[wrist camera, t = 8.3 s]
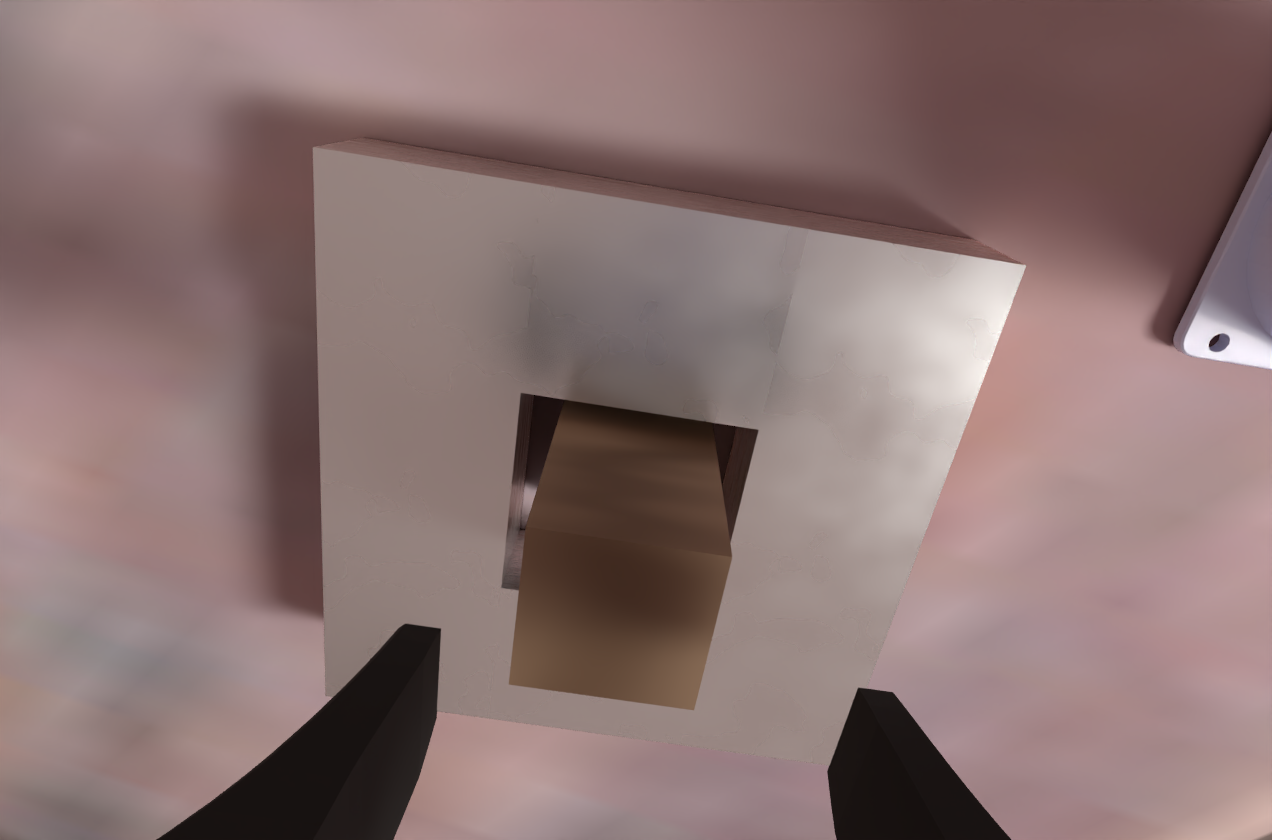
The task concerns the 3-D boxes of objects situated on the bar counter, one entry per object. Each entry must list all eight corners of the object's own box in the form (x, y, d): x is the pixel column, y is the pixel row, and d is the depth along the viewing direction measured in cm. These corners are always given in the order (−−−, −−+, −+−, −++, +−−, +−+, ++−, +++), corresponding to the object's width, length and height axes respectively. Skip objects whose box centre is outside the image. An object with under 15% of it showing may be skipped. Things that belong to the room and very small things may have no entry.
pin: (708, 396, 22) (732, 557, 14) (683, 513, 23) (693, 710, 16) (571, 375, 21) (525, 526, 14) (556, 494, 23) (508, 684, 16)
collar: (974, 239, 19) (1026, 265, 17) (818, 695, 26) (837, 766, 23) (363, 137, 19) (312, 147, 16) (361, 630, 25) (325, 695, 23)
